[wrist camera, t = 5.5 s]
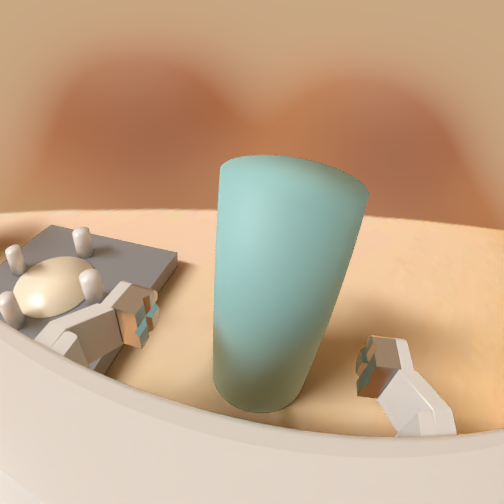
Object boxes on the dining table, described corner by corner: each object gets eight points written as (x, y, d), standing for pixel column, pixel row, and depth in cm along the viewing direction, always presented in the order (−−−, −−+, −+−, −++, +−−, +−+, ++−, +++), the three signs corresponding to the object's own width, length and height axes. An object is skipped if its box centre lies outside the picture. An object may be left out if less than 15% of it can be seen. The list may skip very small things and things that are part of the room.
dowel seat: (177, 265, 23) (176, 229, 22) (79, 415, 12) (56, 381, 10) (54, 235, 25) (47, 206, 23) (-44, 325, 13) (-62, 292, 12)
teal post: (306, 349, 17) (359, 170, 12) (298, 420, 13) (381, 221, 7) (226, 332, 18) (240, 148, 12) (201, 399, 14) (196, 187, 8)
